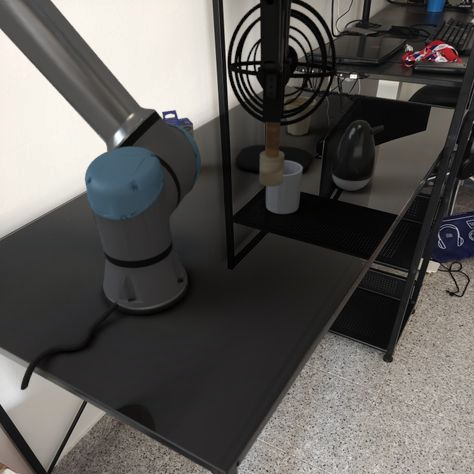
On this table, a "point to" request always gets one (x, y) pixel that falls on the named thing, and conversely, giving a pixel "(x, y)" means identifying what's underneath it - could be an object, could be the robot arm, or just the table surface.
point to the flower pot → (303, 125)
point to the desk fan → (251, 154)
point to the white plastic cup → (286, 190)
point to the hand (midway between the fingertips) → (273, 117)
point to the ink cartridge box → (179, 121)
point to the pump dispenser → (355, 156)
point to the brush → (272, 154)
